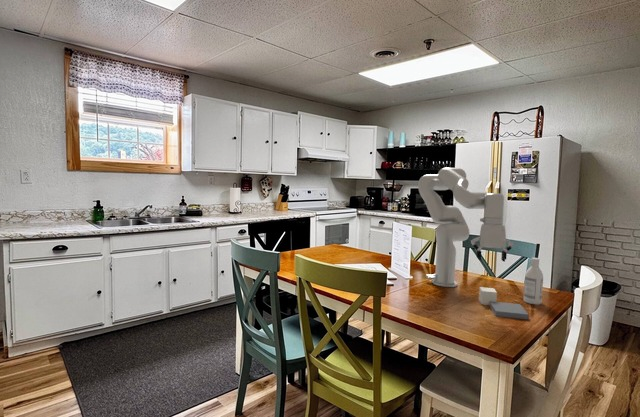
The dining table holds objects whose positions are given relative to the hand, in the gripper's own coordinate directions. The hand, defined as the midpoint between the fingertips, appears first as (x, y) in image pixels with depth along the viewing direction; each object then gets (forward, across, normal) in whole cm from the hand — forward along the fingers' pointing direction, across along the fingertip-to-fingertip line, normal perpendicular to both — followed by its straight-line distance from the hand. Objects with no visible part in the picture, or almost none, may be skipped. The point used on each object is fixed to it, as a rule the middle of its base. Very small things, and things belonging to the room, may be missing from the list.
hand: (491, 260), depth 157 cm
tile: (+19, +5, -10) cm, 22 cm away
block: (+19, -1, 0) cm, 19 cm away
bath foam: (+20, +19, +7) cm, 28 cm away
